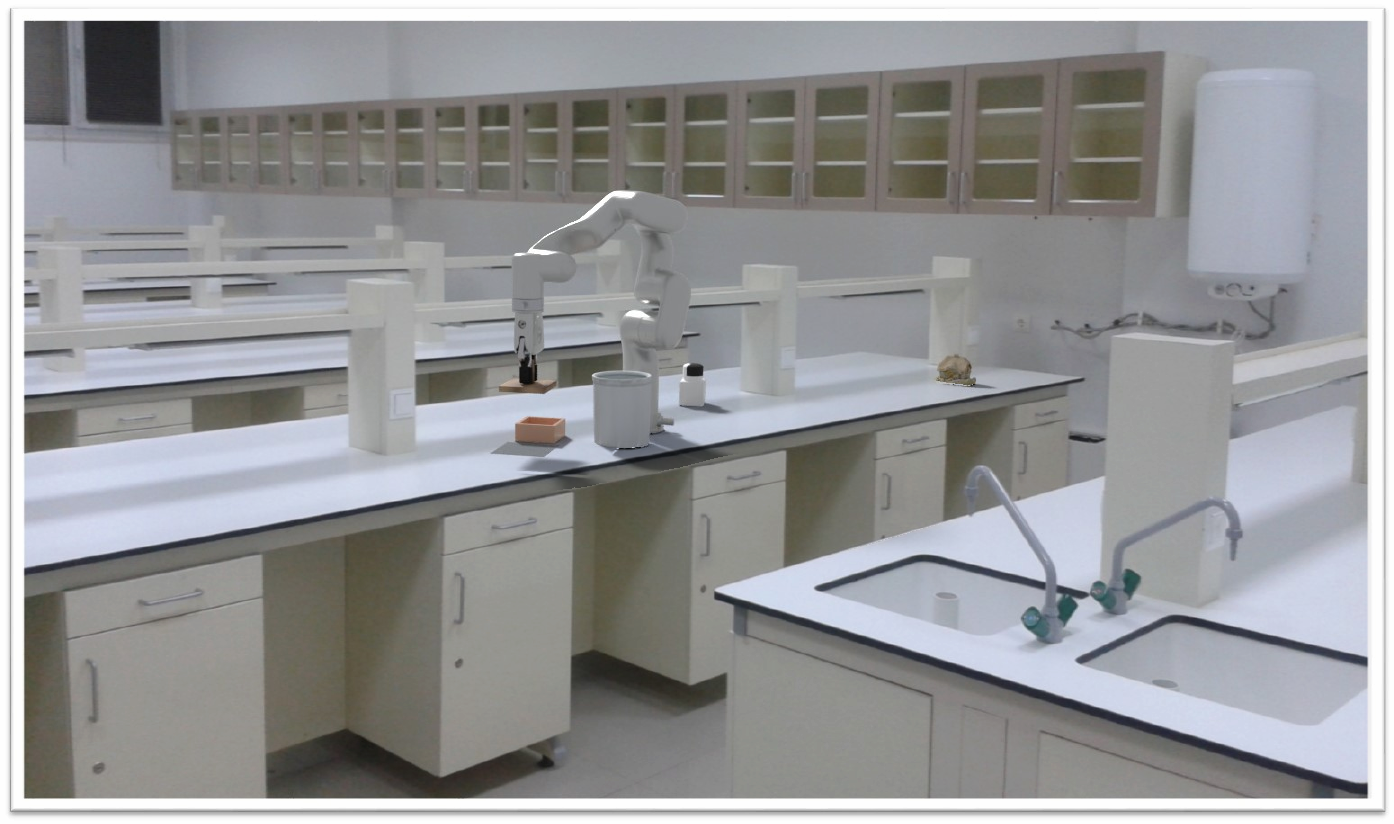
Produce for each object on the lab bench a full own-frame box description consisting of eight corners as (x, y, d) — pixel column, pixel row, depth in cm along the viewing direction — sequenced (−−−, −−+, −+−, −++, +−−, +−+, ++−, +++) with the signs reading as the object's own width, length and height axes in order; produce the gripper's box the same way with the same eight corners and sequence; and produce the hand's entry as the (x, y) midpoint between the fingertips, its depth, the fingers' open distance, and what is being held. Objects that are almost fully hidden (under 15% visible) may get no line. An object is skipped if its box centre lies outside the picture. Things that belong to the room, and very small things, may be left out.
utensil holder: (578, 444, 313) (579, 374, 309) (615, 435, 325) (616, 367, 322) (626, 453, 305) (627, 381, 301) (662, 443, 317) (663, 374, 314)
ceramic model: (928, 383, 422) (930, 353, 420) (941, 379, 432) (942, 350, 430) (968, 388, 415) (970, 357, 413) (980, 383, 424) (982, 354, 422)
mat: (558, 447, 308) (558, 445, 308) (543, 459, 296) (543, 456, 295) (507, 444, 310) (507, 441, 310) (490, 455, 298) (490, 453, 297)
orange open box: (565, 437, 320) (565, 418, 319) (554, 446, 310) (554, 426, 309) (527, 435, 321) (527, 416, 320) (515, 443, 311) (515, 423, 310)
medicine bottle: (705, 402, 374) (706, 362, 372) (703, 407, 367) (704, 366, 365) (681, 401, 375) (682, 361, 372) (678, 405, 368) (679, 365, 365)
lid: (556, 386, 306) (556, 357, 305) (544, 394, 296) (544, 364, 294) (512, 383, 308) (512, 355, 307) (498, 391, 297) (498, 362, 296)
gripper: (533, 310, 289) (533, 388, 293) (552, 302, 305) (552, 377, 309) (502, 308, 291) (502, 387, 294) (522, 301, 306) (522, 375, 310)
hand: (528, 381), depth 301 cm, fingers closed on lid, 3 cm apart
